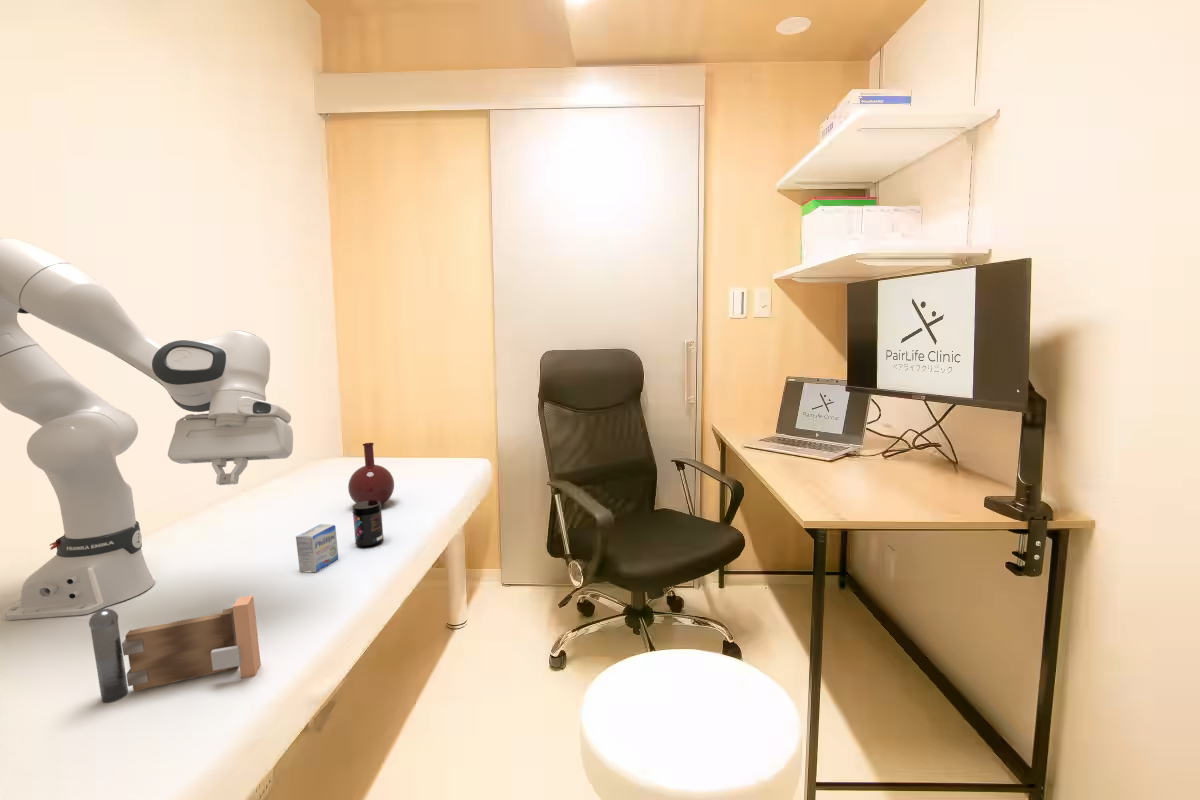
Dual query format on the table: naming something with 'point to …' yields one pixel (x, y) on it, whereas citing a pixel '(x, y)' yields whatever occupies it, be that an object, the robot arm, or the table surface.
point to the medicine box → (317, 547)
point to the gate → (177, 649)
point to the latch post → (241, 641)
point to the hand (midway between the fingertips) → (226, 484)
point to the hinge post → (108, 655)
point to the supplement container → (368, 523)
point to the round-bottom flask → (370, 480)
